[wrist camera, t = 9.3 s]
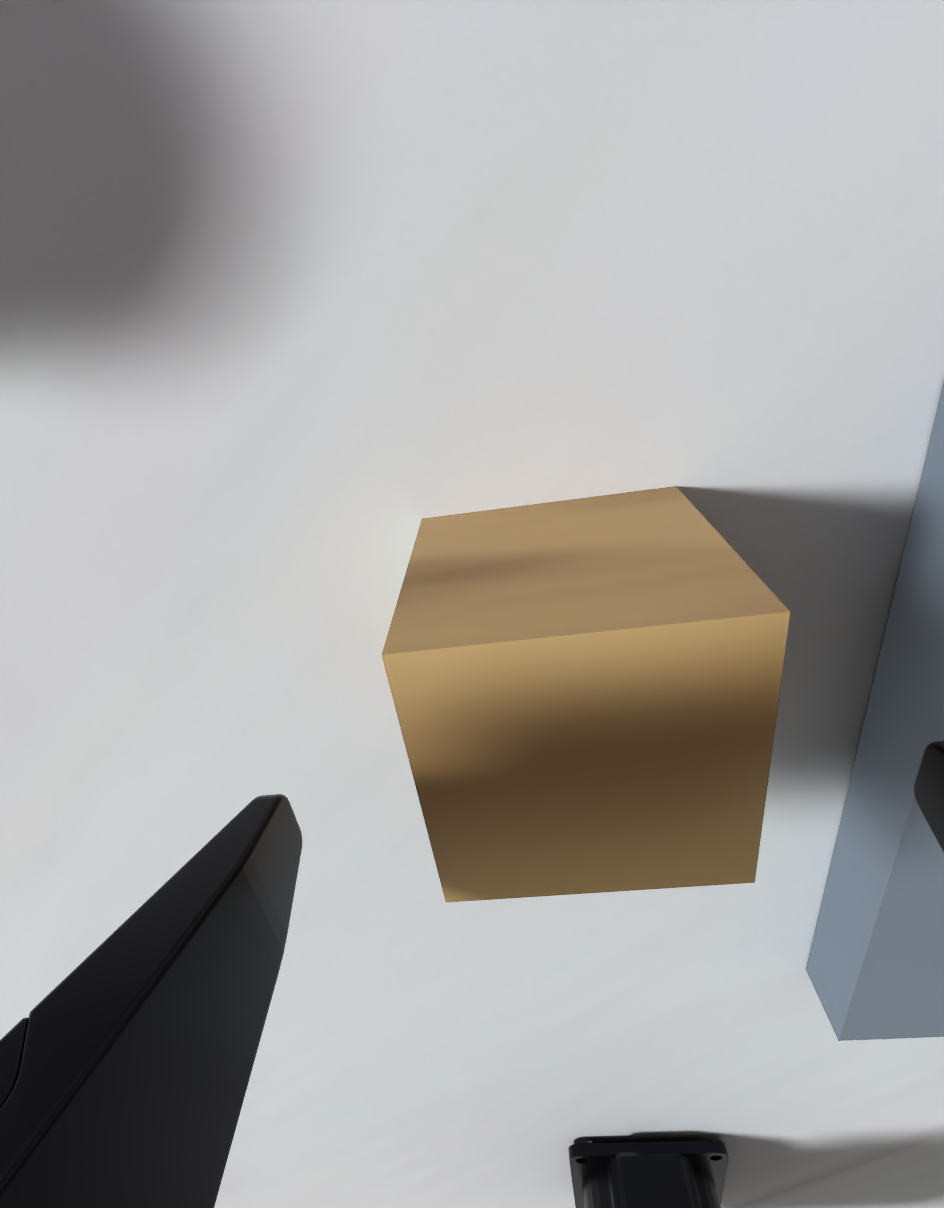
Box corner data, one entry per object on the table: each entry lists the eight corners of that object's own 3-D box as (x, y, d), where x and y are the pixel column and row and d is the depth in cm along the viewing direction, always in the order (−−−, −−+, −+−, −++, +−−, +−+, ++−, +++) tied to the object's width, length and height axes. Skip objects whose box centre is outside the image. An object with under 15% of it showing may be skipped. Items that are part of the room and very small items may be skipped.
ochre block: (670, 691, 14) (754, 882, 9) (460, 711, 14) (445, 902, 10) (674, 484, 11) (789, 611, 7) (422, 517, 12) (381, 655, 7)
